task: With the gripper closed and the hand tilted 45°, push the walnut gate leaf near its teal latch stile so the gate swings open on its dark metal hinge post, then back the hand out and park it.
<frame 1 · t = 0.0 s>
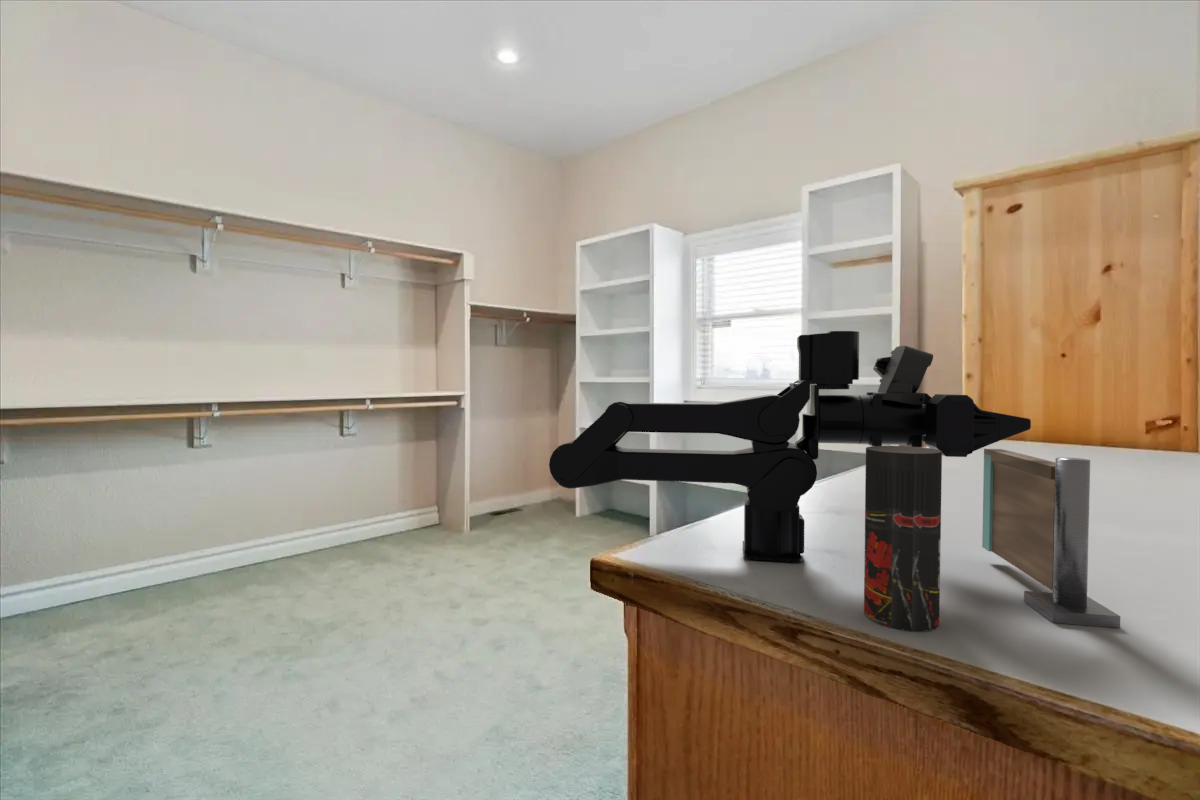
hand: (1008, 421, 64), 17 cm above the table, tool horizontal, fingers open, 9 cm apart
deodorant: (900, 619, 51), on the table
gate: (1022, 511, 60), point 7 cm above the table, hinge at 0.0°
hinge post: (1069, 613, 52), on the table
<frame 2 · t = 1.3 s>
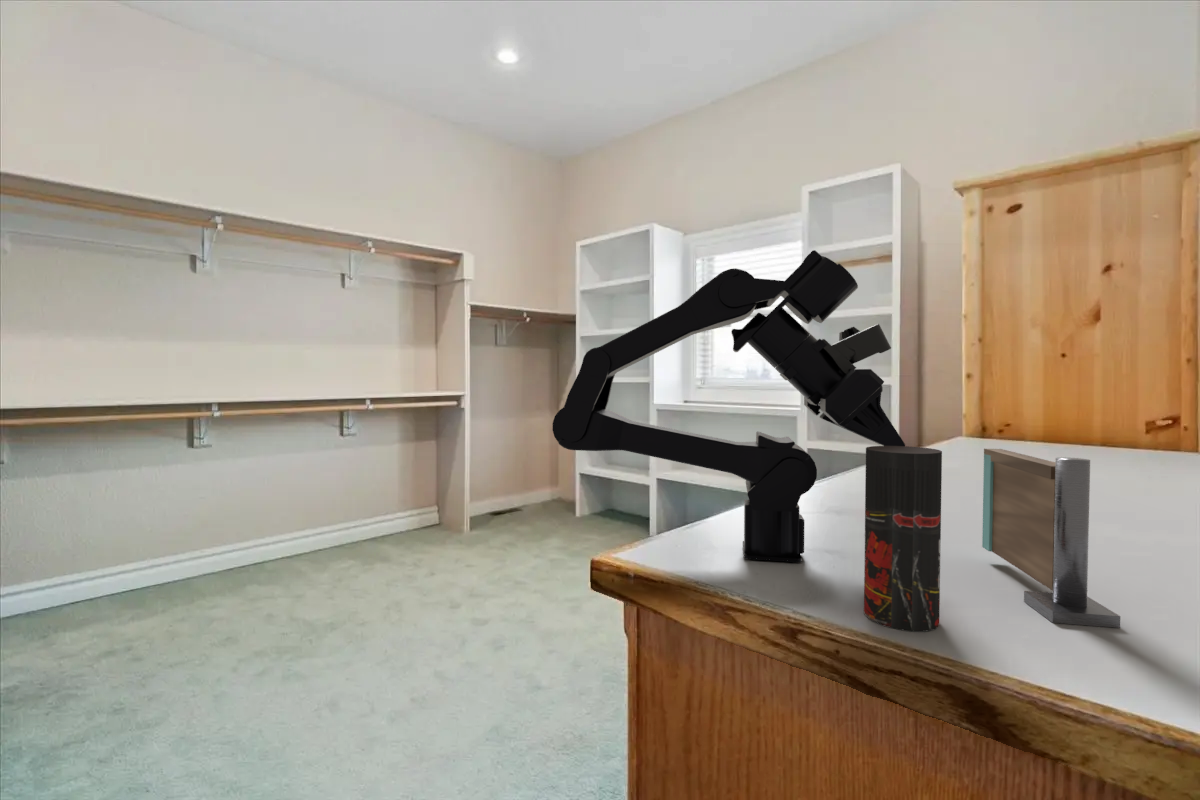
hand: (892, 445, 67), 14 cm above the table, tool tilted 45°, fingers open, 7 cm apart
nothing on the table moved.
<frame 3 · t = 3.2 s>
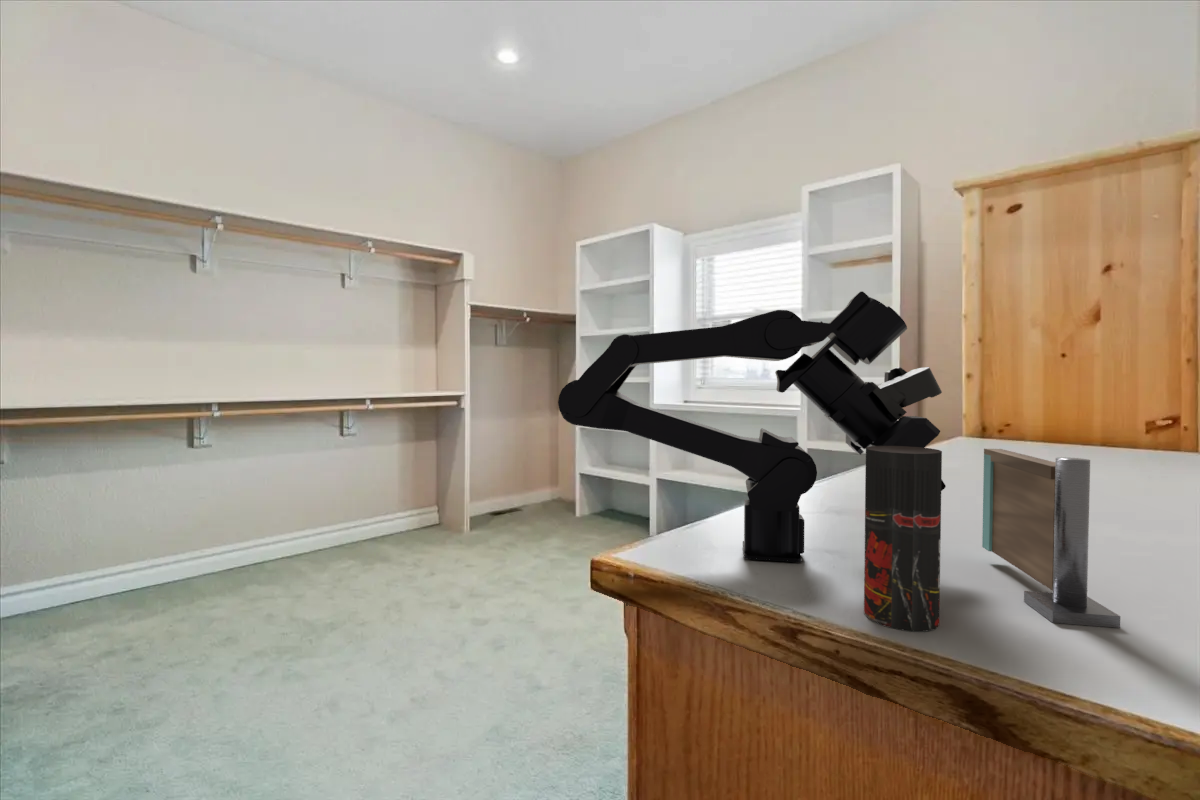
hand: (941, 489, 66), 9 cm above the table, tool tilted 45°, fingers closed
nothing on the table moved.
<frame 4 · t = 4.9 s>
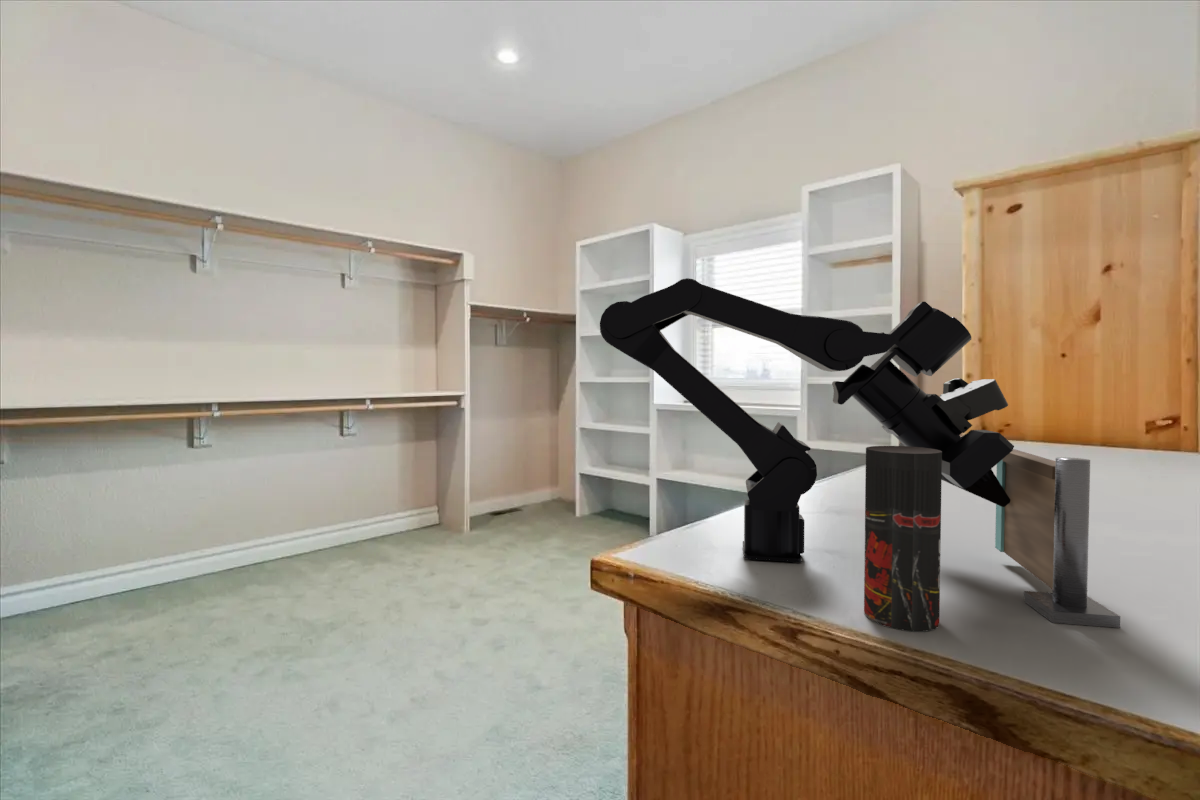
hand: (1006, 503, 64), 7 cm above the table, tool tilted 45°, fingers closed, pressing on gate
gate: (1030, 512, 60), point 7 cm above the table, hinge at 4.9°, touching gripper
everything else where it was.
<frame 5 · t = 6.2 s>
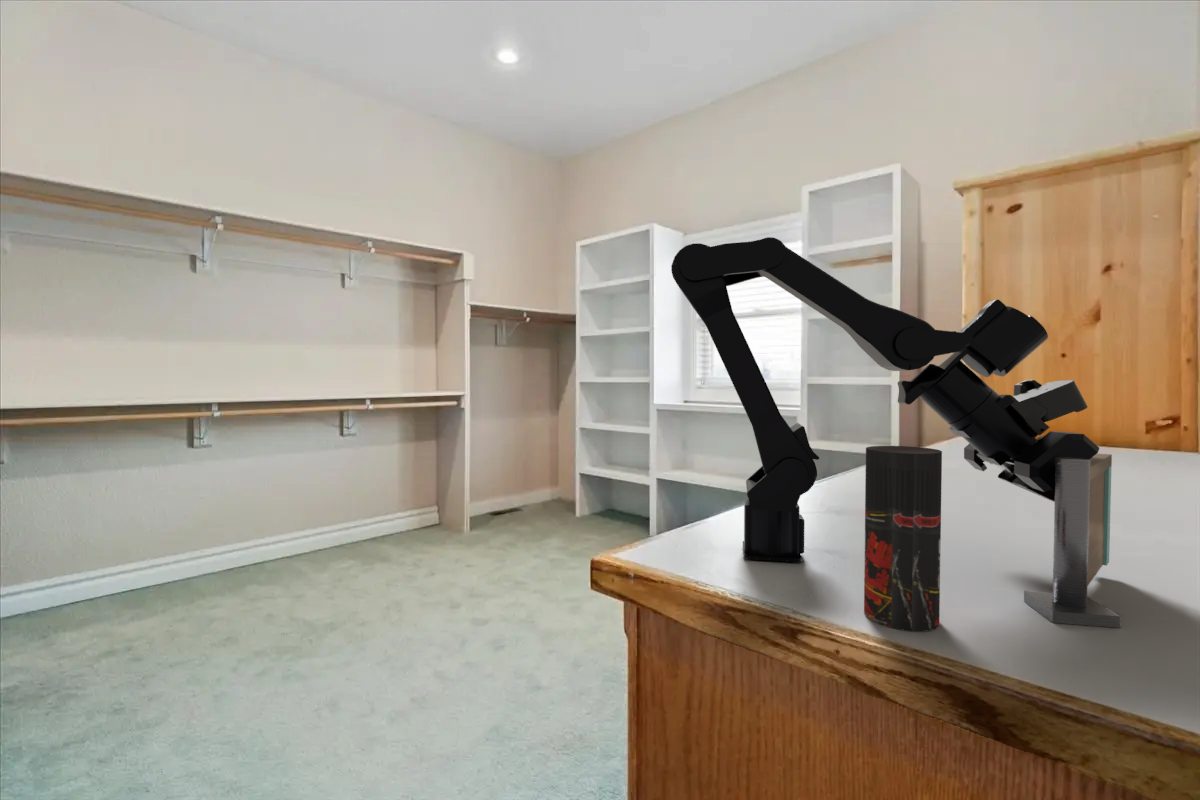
hand: (1083, 509, 62), 7 cm above the table, tool tilted 45°, fingers closed, pressing on gate
gate: (1087, 517, 57), point 7 cm above the table, hinge at 35.2°, touching gripper
everything else where it was.
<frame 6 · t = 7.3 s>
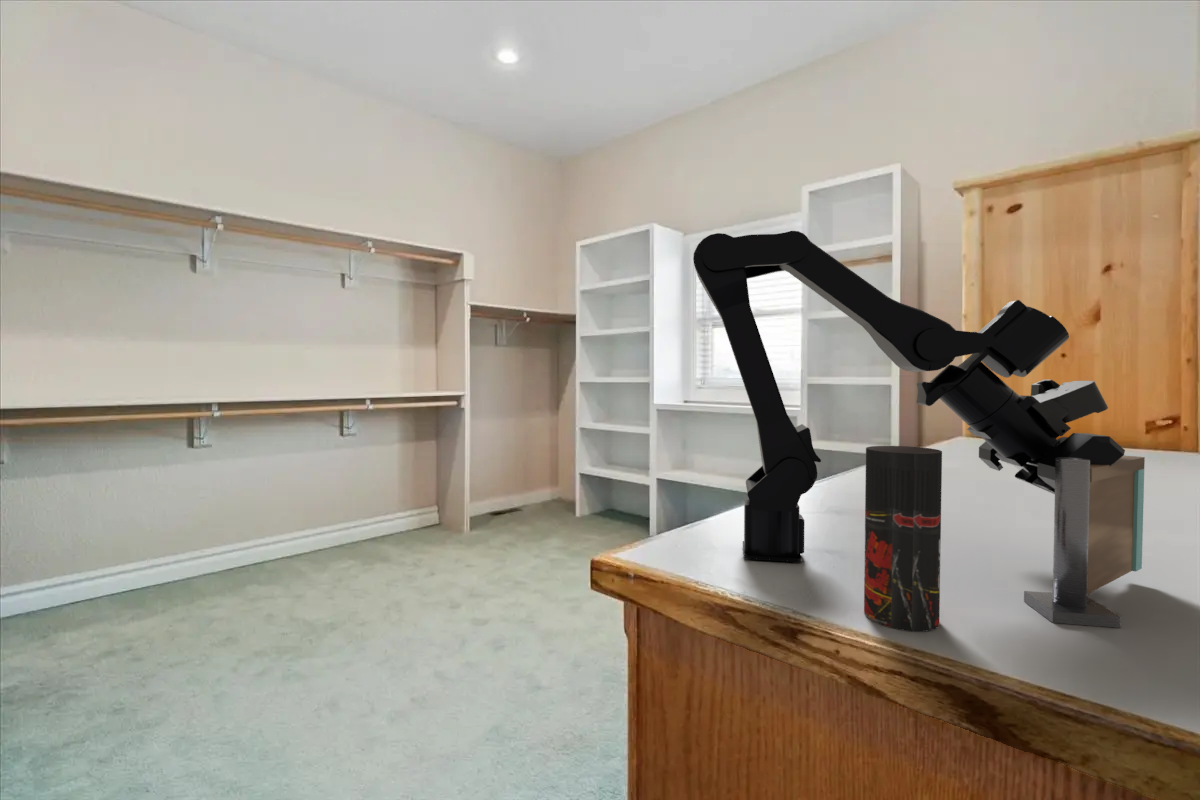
hand: (1101, 509, 62), 7 cm above the table, tool tilted 45°, fingers closed
gate: (1106, 520, 56), point 7 cm above the table, hinge at 44.5°
everything else where it was.
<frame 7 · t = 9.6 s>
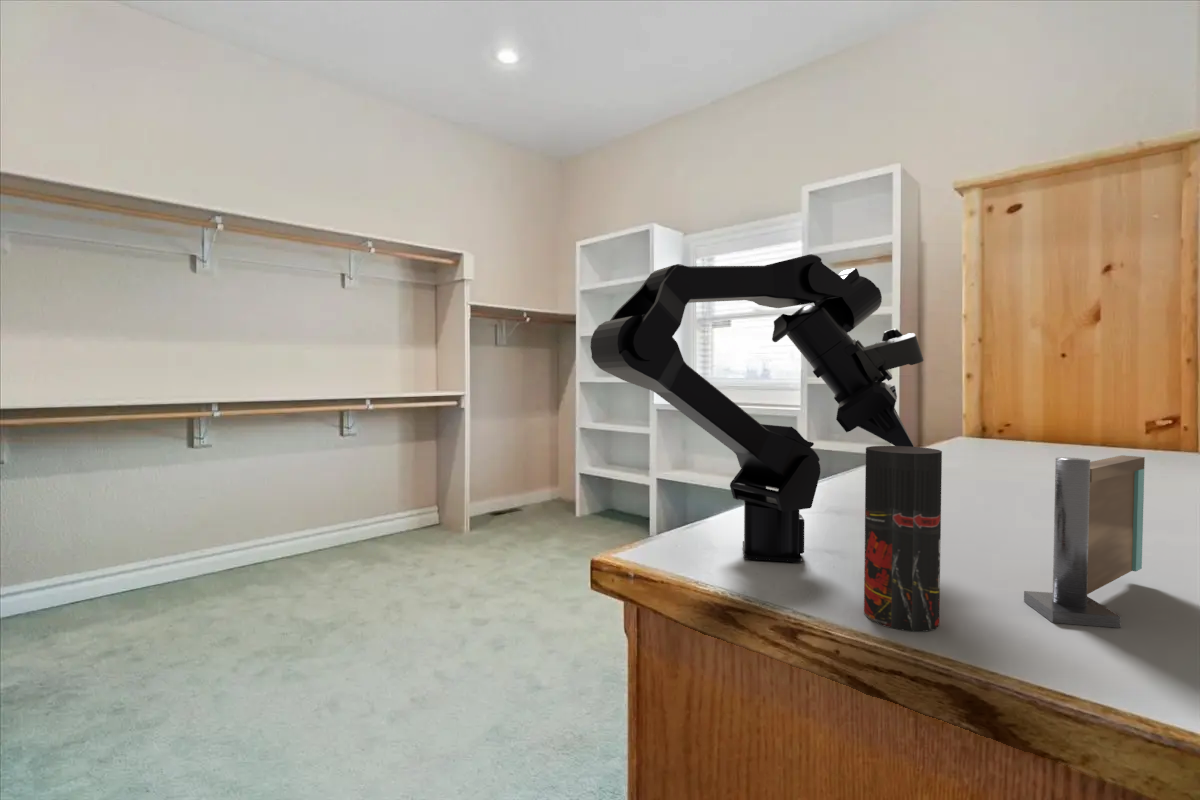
hand: (910, 448, 70), 13 cm above the table, tool tilted 40°, fingers closed
nothing on the table moved.
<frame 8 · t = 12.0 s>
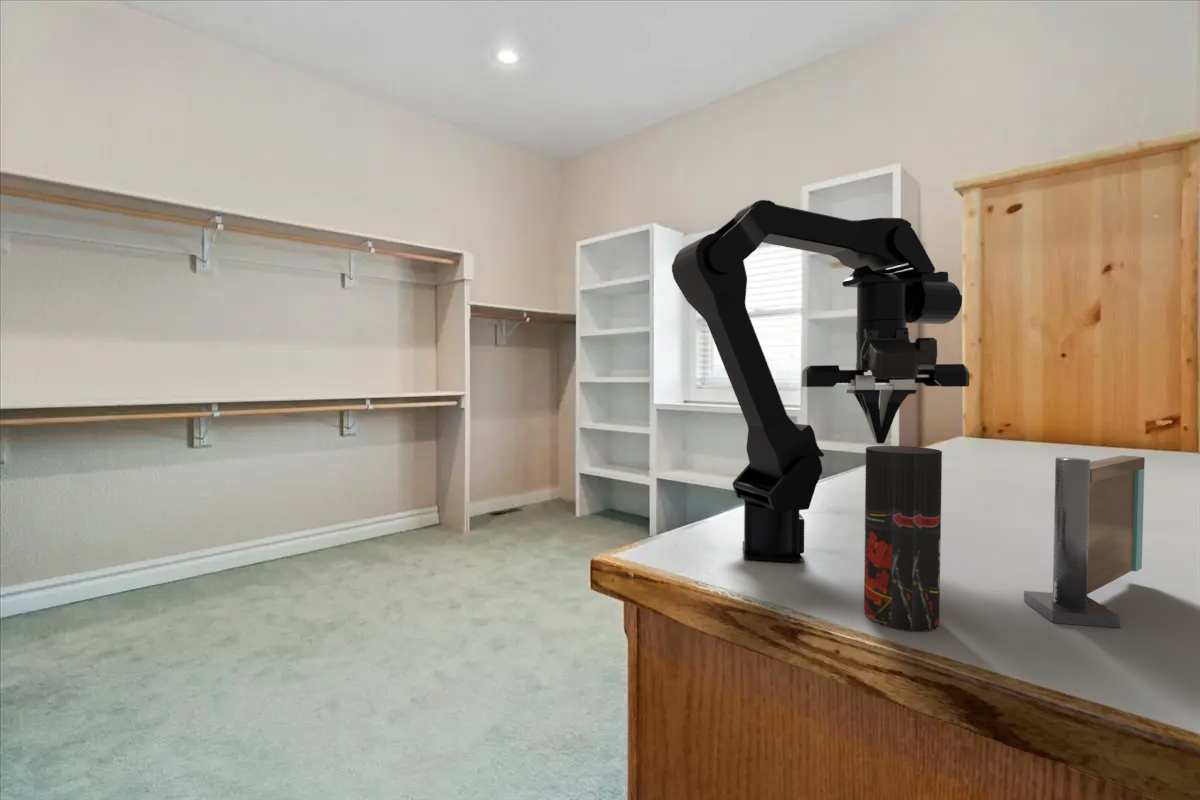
hand: (879, 443, 74), 13 cm above the table, tool pointing down, fingers closed
nothing on the table moved.
at the end: gate at +44° (first picture: +0°); deodorant moved 0.2 cm from its start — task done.
